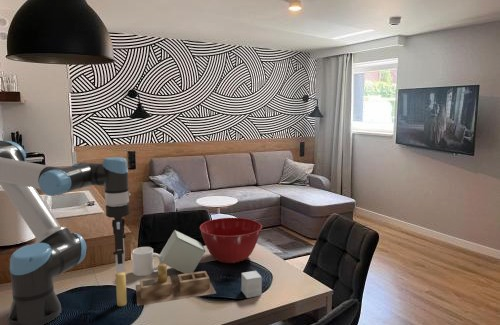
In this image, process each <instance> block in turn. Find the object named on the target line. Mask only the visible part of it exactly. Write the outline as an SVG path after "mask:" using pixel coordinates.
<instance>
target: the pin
mask: <svg viewBox="0 0 500 325" xmlns="http://www.w3.org/2000/svg"><path fill="white" fill-rule="evenodd" d="M115 287H116V288H115V292H116V306H118V307H125V306H126V305H127V303H128V301H127V298H128V297H127V277H126V271H125V272H122V273H116V272H115Z"/></svg>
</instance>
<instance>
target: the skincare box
mask: <svg viewBox="0 0 500 325" xmlns="http://www.w3.org/2000/svg"><path fill="white" fill-rule="evenodd" d="M262 283H263V277H262V275H261V274H260V273H259V272H258V271H257V270H252V271H251V270H250V271H246V272H241V292H242V293H243V295H244V296H245V298H247V299H250V298H253V297H260V296H262V294H263V293H262V290H263V284H262Z"/></svg>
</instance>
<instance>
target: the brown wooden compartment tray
mask: <svg viewBox="0 0 500 325" xmlns="http://www.w3.org/2000/svg"><path fill="white" fill-rule="evenodd" d="M157 266H158V270H157V277H151V278H144V279H139V284H135V292H136V293H135V295H136V306H138V307H140V306H145V305H150V304H157V303H164V302H171V301H177V300H178V301H179V300H184V299H190V298H197V297H202V296H209V295H214V294H217V291H216V290H215V288H214V286H213V283H212V282H211V278H210V275H208V273H207V271H206V270H201V271H194V272H193V273H186V274H185V273H181V274H177V279H171V276H170V275H168V268H167V265H166V264H163V263H162V264H159V263H158V265H157Z"/></svg>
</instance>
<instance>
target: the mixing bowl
mask: <svg viewBox="0 0 500 325" xmlns="http://www.w3.org/2000/svg"><path fill="white" fill-rule="evenodd" d="M262 229H263V225H262V224H261V223H260V222H258V221H256V220H253V219H249V218H244V217H221V218H215V219H211V220H207V221H204V222H203V223H202V224H200V226H199V230H200V232H201V237H202V239H203V241H204V244H205V246H206V248H207V251H208V252H209V254H210V255H211V257H213V258H214V259H215V260H217V261H218V262H221V263H223V264H237V263H240V261H241V262H243V261H245V260H246V259H247V258H249V257H250V256H251V255H252V253H253V251H254V249H255V247H256V246H257V244H258V240H259V237H260V233H261V230H262ZM236 262H237V263H236Z"/></svg>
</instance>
